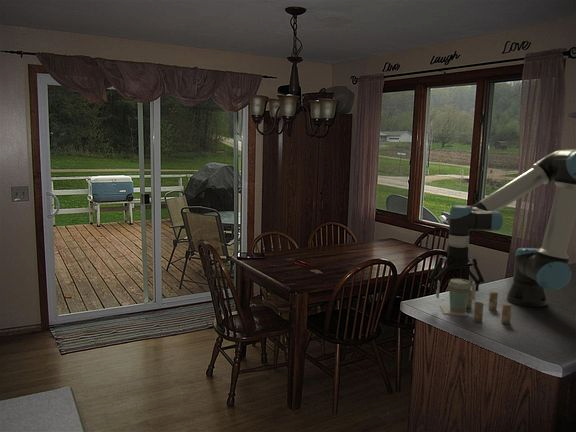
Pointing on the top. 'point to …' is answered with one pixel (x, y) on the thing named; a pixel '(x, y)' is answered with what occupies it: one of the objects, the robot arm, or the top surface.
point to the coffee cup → (459, 294)
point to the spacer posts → (490, 308)
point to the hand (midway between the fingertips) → (455, 298)
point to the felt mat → (447, 311)
